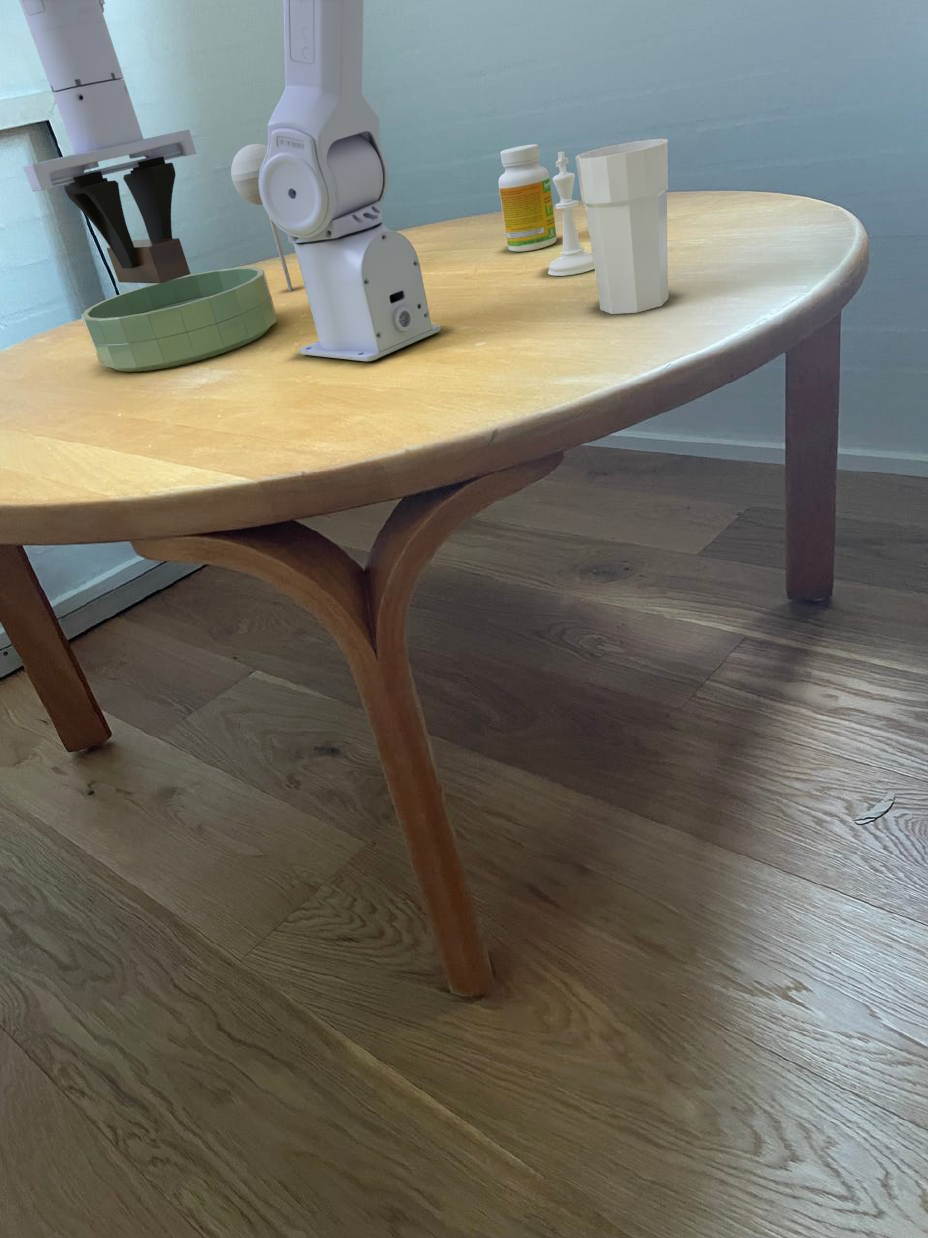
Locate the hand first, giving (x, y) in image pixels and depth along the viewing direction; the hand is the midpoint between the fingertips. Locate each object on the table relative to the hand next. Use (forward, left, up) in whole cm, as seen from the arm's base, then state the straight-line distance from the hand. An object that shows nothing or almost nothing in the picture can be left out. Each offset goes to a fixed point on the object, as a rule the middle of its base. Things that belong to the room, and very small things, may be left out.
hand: (148, 261), depth 81 cm
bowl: (+3, -3, -9) cm, 10 cm away
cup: (-37, -20, -9) cm, 43 cm away
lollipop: (+11, -21, -9) cm, 25 cm away
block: (0, 0, -1) cm, 1 cm away
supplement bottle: (-10, -39, -9) cm, 41 cm away
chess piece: (-23, -30, -9) cm, 39 cm away
